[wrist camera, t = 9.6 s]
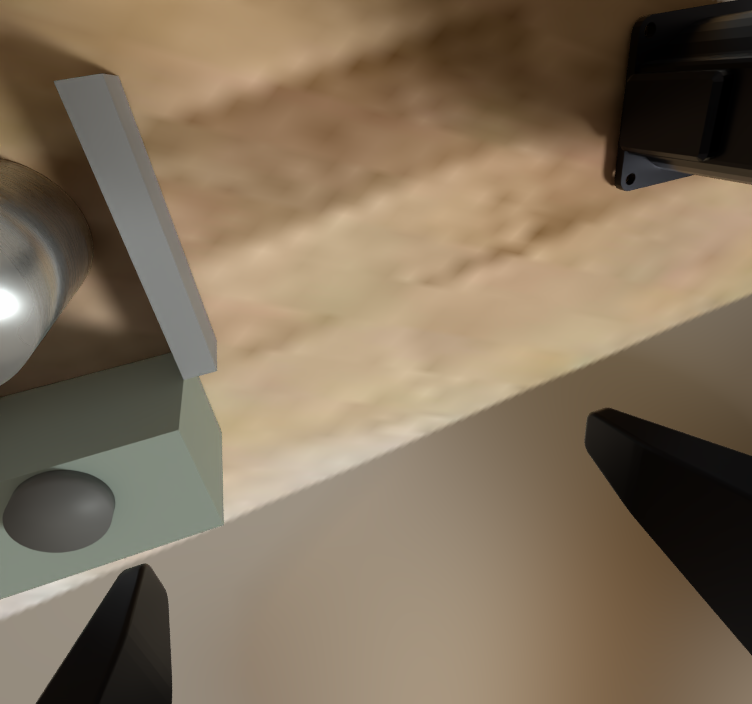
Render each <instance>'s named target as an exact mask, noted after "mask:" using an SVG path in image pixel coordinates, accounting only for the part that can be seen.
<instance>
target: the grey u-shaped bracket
mask: <svg viewBox="0 0 752 704" xmlns="http://www.w3.org/2000/svg"><path fill="white" fill-rule="evenodd" d="M54 83H55V86H56V88H57V90H58V93H59V95H60V97H61V99H62V102H63V104H64V106H65V109H66V111H67V113H68V115H69V118H70V120H71V122H72V125H73V127H74V129H75V132H76V134H77V136H78V138H79V141H80V143H81V145H82V148H83V150H84V152H85V154H86V157H87V159H88V161H89V164H90V166H91V168H92V171H93V173H94V175H95V177H96V180H97V182H98V184H99V187H100V189H101V191H102V194H103V196H104V198H105V200H106V203H107V205H108V207H109V210H110V212H111V214H112V216H113V219H114V221H115V223H116V226H117V228H118V230H119V233H120V235H121V237H122V239H123V242H124V244H125V246H126V249H127V251H128V253H129V255H130V258H131V260H132V262H133V265H134V267H135V269H136V272H137V274H138V276H139V278H140V281H141V283H142V285H143V288H144V290H145V292H146V295H147V297H148V299H149V301H150V304H151V306H152V308H153V311H154V313H155V315H156V317H157V320H158V322H159V324H160V327H161V329H162V331H163V334H164V336H165V338H166V340H167V343H168V345H169V347H170V350H171V352H172V353H168V354H164V355H160V356H156V357H153V358H149V359H145V360H141V361H137V362H134V363H130V364H126V365H122V366H118V367H115V368H111V369H107V370H103V371H99V372H96V373H92V374H88V375H84V376H80V377H77V378H73V379H69V380H65V381H61V382H58V383H54V384H50V385H46V386H42V387H39V388H35V389H31V390H27V391H23V392H20V393H16V394H12V395H8V396H4V397H1V398H0V599H3V598H6V597H9V596H12V595H15V594H18V593H21V592H24V591H27V590H30V589H33V588H36V587H39V586H42V585H45V584H48V583H51V582H54V581H57V580H60V579H63V578H66V577H69V576H72V575H75V574H78V573H81V572H84V571H87V570H90V569H93V568H96V567H99V566H102V565H105V564H108V563H111V562H114V561H117V560H120V559H123V558H126V557H129V556H132V555H135V554H138V553H141V552H144V551H147V550H150V549H153V548H156V547H159V546H162V545H165V544H168V543H171V542H174V541H177V540H180V539H183V538H186V537H189V536H192V535H195V534H198V533H201V532H204V531H207V530H210V529H213V528H216V527H219V526H222V525H224V514H223V471H222V432H221V429H220V427H219V425H218V422H217V420H216V417H215V415H214V412H213V410H212V408H211V405H210V403H209V400H208V398H207V396H206V393H205V391H204V388H203V386H202V383H201V381H200V379H199V376H200V375H204V374H208V373H211V372H215V371H217V340H216V337H215V335H214V332H213V329H212V327H211V324H210V321H209V319H208V316H207V313H206V310H205V308H204V305H203V302H202V300H201V297H200V294H199V292H198V289H197V286H196V284H195V281H194V278H193V276H192V273H191V270H190V267H189V265H188V262H187V259H186V257H185V254H184V251H183V249H182V246H181V243H180V241H179V238H178V235H177V232H176V230H175V227H174V224H173V222H172V219H171V216H170V214H169V211H168V208H167V206H166V203H165V200H164V197H163V195H162V192H161V189H160V187H159V184H158V181H157V179H156V176H155V173H154V171H153V168H152V165H151V162H150V160H149V157H148V154H147V152H146V149H145V146H144V144H143V141H142V138H141V136H140V133H139V130H138V127H137V125H136V122H135V119H134V117H133V114H132V111H131V109H130V106H129V103H128V101H127V98H126V95H125V92H124V90H123V87H122V84H121V82H120V79H119V76H116V75H109V74H103V73H102V74H95V75H89V76H82V77H76V78H70V79H63V80H57V81H54Z"/></svg>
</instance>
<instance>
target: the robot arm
mask: <svg viewBox="0 0 752 704" xmlns="http://www.w3.org/2000/svg"><path fill="white" fill-rule="evenodd" d="M646 26H648V32H647V35H646V36H645V28H646ZM628 175H629V178H628V180H627V182H626V178H627V176H628ZM691 175H699V176H705V177H711V178H716V179H722V180H728V181H734V182H739V183H745V184H751V185H752V0H735V1H729V2H723V3H717V4H711V5H705V6H699V7H693V8H688V9H682V10H676V11H670V12H664V13H658V14H652V15H646V16H643V17H641V18H639V19H638V20H637V21H636V22H635V24H634V26H633V29H632V33H631V41H630V49H629V58H628V67H627V76H626V84H625V93H624V102H623V111H622V119H621V128H620V137H619V146H618V154H617V163H616V172H615V186H616V188H618V189H620V190H624V191H630V190H634V189H638V188H643V187H647V186H651V185H655V184H659V183H663V182H667V181H671V180H675V179H679V178H683V177H687V176H691ZM585 447H586V449H587V452H588V453H589V455H590V456H591V458H592V459H593V460H594V462H595V463H596V465H597V466H598V468H599V469H600V471H601V472H602V473H603V475H604V476H605V478H606V479H607V480H608V482H609V483H610V485H611V486H612V488H613V489H614V491H615V492H616V493H617V495H618V496H619V498H620V499H621V501H622V502H623V503H624V505H625V506H626V507H627V509H628V510H629V512H630V513H631V514H632V515H633V517H634V518H635V519H636V520H637V521H638V522H639V524H640V525H641V526H642V527H643V528H644V530H645V531H646V532H647V533H648V534H649V536H650V537H651V538H652V539H653V540H654V541H655V543H656V544H657V545H658V546H659V547H660V548H661V550H662V551H663V552H664V553H665V554H666V555H667V557H668V558H669V559H670V560H671V561H672V562H673V564H674V565H675V566H676V567H677V568H678V570H679V571H680V572H681V573H682V574H683V575H684V577H685V578H686V579H687V580H688V581H689V582H690V584H691V585H692V586H693V587H694V588H695V589H696V591H697V592H698V593H699V594H700V595H701V596H702V598H703V599H704V600H705V601H706V602H707V604H708V605H709V606H710V607H711V608H712V609H713V611H714V612H715V613H716V614H717V615H718V616H719V617H720V619H721V620H722V621H723V622H724V623H725V625H726V626H727V627H728V628H729V629H730V630H731V631H732V633H733V634H734V635H735V636H736V637H737V639H738V640H739V641H740V642H741V643H742V645H743V646H744V647H745V648H746V649H747V650H748V651H749V653H750V654H751V655H752V456H750V455H747V454H745V453H741V452H738V451H736V450H733V449H730V448H727V447H724V446H721V445H718V444H715V443H712V442H709V441H706V440H703V439H700V438H697V437H694V436H691V435H689V434H685V433H683V432H680V431H677V430H673V429H671V428H668V427H665V426H662V425H659V424H656V423H653V422H650V421H647V420H644V419H641V418H638V417H635V416H632V415H629V414H627V413H624V412H620V411H618V410H614V409H612V408H602V409H599V410H596V411H593V412H591V413H590V414H589V415H588V417H587V423H586V432H585ZM168 607H169V606H168V597H167V593H166V590H165V588H164V586H163V585H162V583H161V582H160V580H159V579H158V577H157V576H156V574H155V573H154V571H153V569H152V568H151V567H150V566H149V565H148V564H141V565H138V566H135V567H132V568H129V569H126V570H124V571H123V572H122V573H121V574H120V575H119V576H118V578H117V579H116V581H115V582H114V584H113V585H112V587H111V588H110V590H109V591H108V593H107V595H106V596H105V598H104V599H103V601H102V602H101V604H100V605H99V607H98V608H97V610H96V612H95V613H94V615H93V616H92V618H91V619H90V621H89V622H88V624H87V625H86V627H85V629H84V630H83V632H82V633H81V635H80V636H79V638H78V639H77V641H76V642H75V644H74V646H73V647H72V649H71V650H70V652H69V653H68V655H67V656H66V658H65V659H64V661H63V662H62V664H61V666H60V667H59V669H58V670H57V672H56V673H55V675H54V676H53V678H52V679H51V681H50V682H49V684H48V685H47V687H46V688H45V690H44V692H43V693H42V695H41V696H40V698H39V699H38V701H37V702H36V704H172V669H171V649H170V628H169V608H168Z"/></svg>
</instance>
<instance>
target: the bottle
mask: <svg viewBox="0 0 752 704" xmlns="http://www.w3.org/2000/svg"><path fill="white" fill-rule="evenodd" d="M92 261H93V240H92V236H91V232H90V229H89V226H88V224H87V222H86V220H85V218H84V216H83V214H82V212H81V211H80V209H79V208H78V207H77V205H76V204H75V203H74V201H73V200H72V199H71V198H70V197H69V196H68V195H67V194H66V193H65V192H64V191H63V190H62V189H61V188H60V187H59V186H57V185H56V184H55V183H53V182H52V181H51V180H49V179H48V178H46V177H45V176H43V175H41V174H39V173H38V172H36V171H34V170H32V169H30V168H27V167H25V166H23V165H20V164H17V163H14V162H11V161H6V160H2V159H0V385H2V384H4V383H5V382H7V381H8V380H9V379H11V378H12V377H13V376H14V375H15V374H16V373H18V371H19V370H20V369H21V368H22V367H23V366H24V364H25V363H26V362H27V360H28V359H29V358H30V356H31V355H32V353H33V352H34V351H35V349H36V348H37V346H38V345H39V344H40V342H41V341H42V339H43V338H44V337H45V335H46V334H47V332H48V331H49V330H50V328H51V327H52V325H53V324H54V323H55V321H56V320H57V318H58V317H59V316H60V314H61V313H62V311H63V310H64V309H65V307H66V306H67V304H68V303H69V302H70V300H71V299H72V297H73V296H74V295H75V293H76V292H77V291H78V289H79V288H80V286H81V285H82V284H83V282H84V281H85V279H86V277H87V276H88V274H89V271H90V269H91V266H92Z"/></svg>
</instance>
